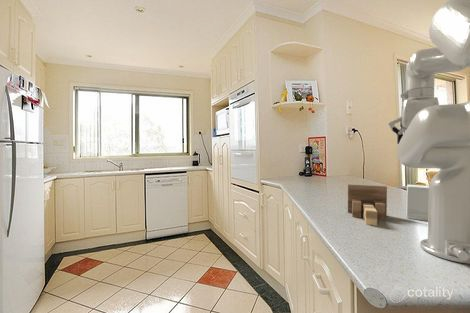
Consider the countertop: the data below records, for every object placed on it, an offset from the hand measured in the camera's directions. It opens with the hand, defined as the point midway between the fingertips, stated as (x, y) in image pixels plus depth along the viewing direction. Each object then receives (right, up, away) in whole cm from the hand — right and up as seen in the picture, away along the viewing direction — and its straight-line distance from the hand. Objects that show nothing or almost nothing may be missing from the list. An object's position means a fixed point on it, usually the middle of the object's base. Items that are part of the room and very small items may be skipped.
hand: (418, 145), depth 77 cm
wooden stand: (-9, -28, +14) cm, 33 cm away
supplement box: (+10, -28, +12) cm, 32 cm away
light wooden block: (-12, -28, +9) cm, 32 cm away
